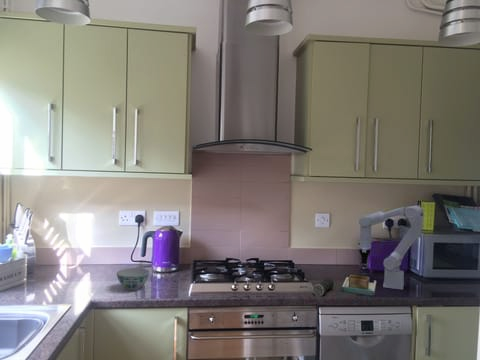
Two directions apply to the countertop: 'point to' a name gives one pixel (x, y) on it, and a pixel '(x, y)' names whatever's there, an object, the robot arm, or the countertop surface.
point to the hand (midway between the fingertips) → (364, 263)
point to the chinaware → (133, 277)
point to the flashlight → (323, 287)
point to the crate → (359, 282)
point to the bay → (360, 291)
